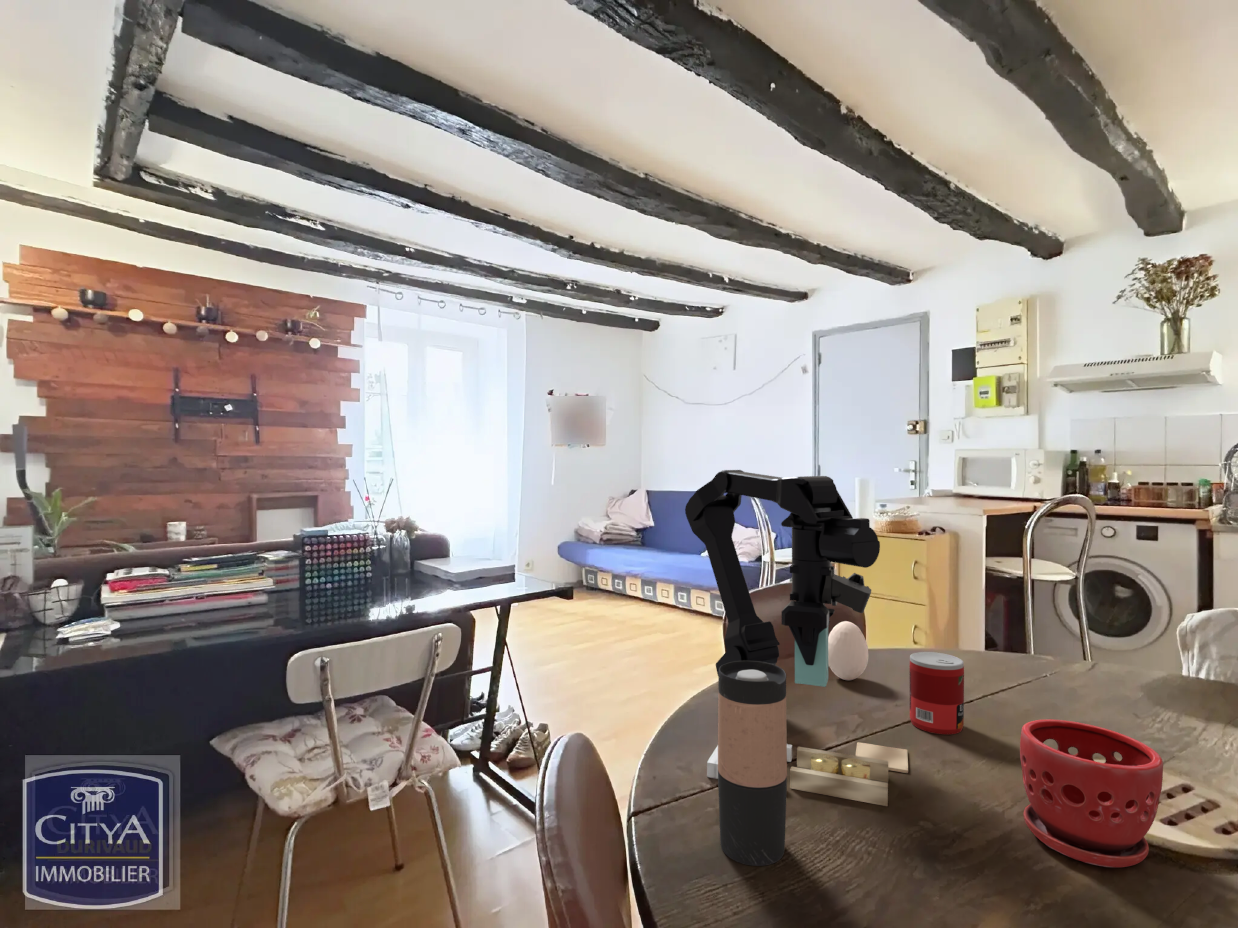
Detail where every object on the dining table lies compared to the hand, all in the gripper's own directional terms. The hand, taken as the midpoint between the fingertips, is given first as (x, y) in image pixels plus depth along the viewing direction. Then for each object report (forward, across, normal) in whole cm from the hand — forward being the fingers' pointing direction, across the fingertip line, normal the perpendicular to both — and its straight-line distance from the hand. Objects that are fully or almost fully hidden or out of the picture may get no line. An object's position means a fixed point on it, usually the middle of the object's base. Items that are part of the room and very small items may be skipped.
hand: (811, 660), depth 101 cm
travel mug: (+13, -30, +3) cm, 33 cm away
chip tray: (+13, -11, +7) cm, 18 cm away
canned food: (+13, +15, -18) cm, 27 cm away
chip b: (+13, -11, -7) cm, 18 cm away
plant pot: (+13, -15, -32) cm, 38 cm away
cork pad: (+13, -1, -10) cm, 16 cm away
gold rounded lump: (+13, -11, -3) cm, 17 cm away
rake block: (+3, 0, 0) cm, 3 cm away
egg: (+13, +33, -3) cm, 36 cm away
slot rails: (+13, -11, -5) cm, 18 cm away
